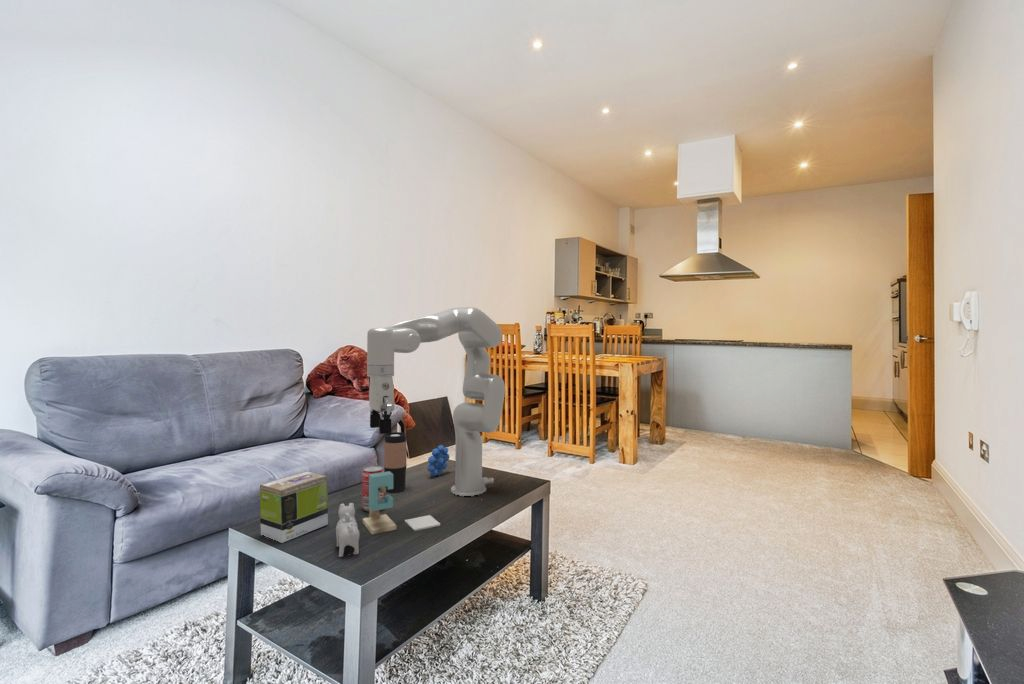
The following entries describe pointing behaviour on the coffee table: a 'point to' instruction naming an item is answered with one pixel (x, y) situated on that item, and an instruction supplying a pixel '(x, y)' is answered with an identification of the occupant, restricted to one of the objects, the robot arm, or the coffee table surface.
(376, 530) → the stand
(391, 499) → the c link
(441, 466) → the grapes
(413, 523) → the felt mat
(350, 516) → the dog figurine
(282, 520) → the tea box
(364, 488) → the soda can
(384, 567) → the coffee table surface
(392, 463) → the travel mug
